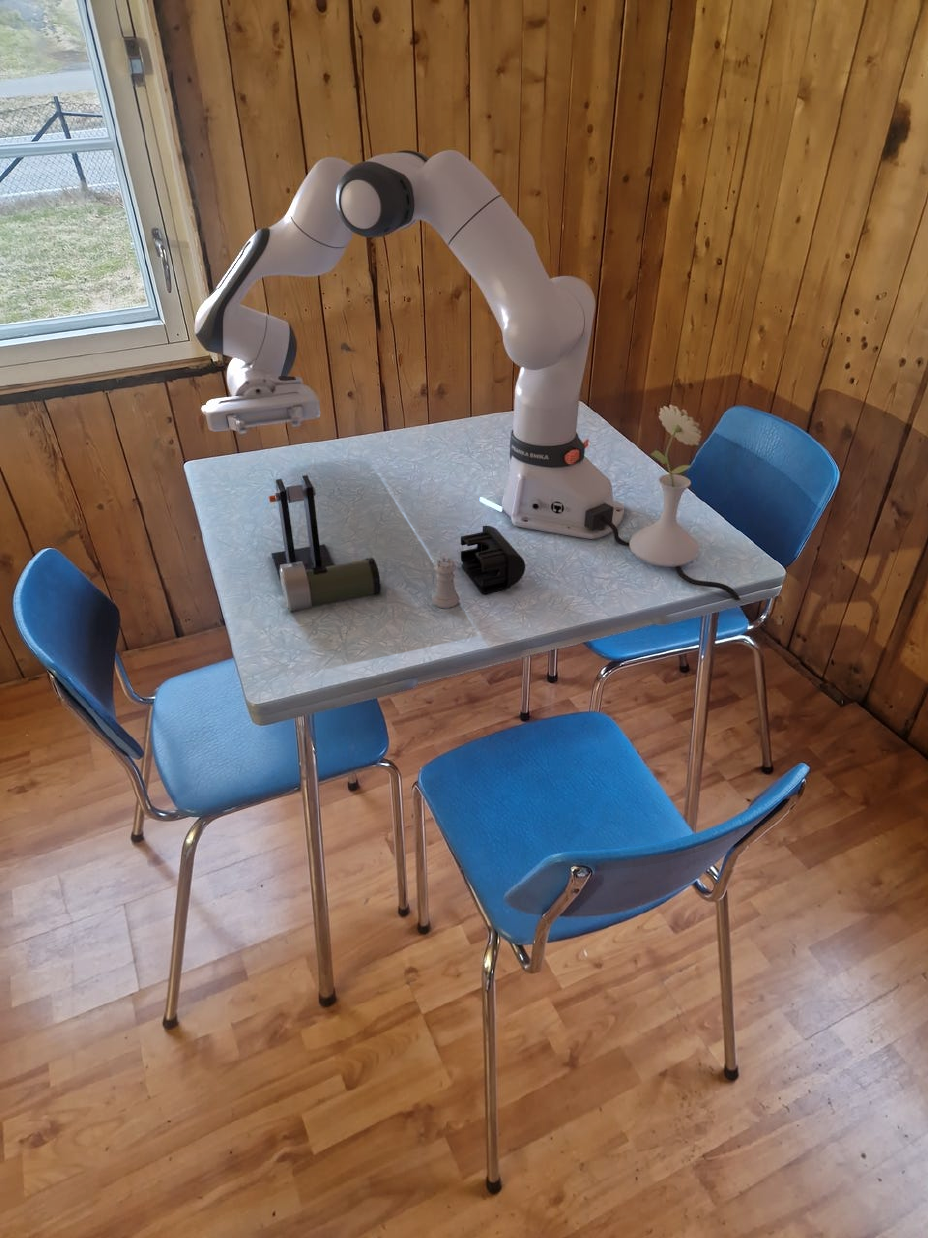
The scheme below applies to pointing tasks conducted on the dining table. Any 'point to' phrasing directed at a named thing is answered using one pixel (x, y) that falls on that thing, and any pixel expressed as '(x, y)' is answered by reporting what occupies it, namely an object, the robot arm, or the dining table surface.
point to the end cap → (491, 561)
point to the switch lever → (292, 494)
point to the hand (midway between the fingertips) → (269, 425)
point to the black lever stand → (314, 553)
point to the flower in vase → (670, 502)
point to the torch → (328, 583)
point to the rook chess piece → (445, 584)
